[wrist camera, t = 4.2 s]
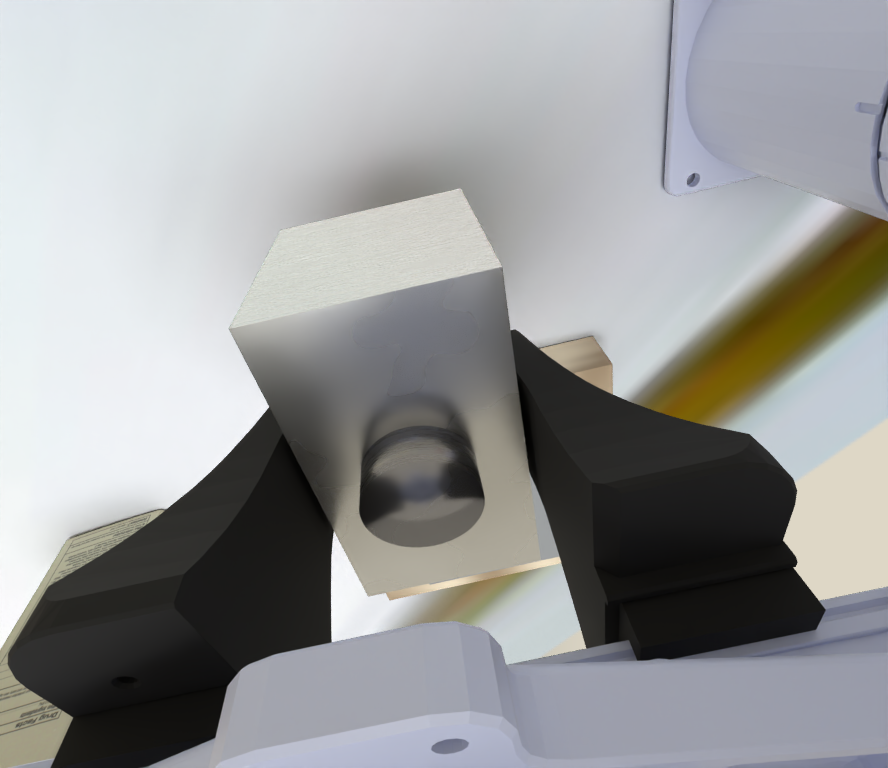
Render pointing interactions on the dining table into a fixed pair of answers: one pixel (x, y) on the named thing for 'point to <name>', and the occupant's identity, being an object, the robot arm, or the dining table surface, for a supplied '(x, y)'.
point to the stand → (591, 367)
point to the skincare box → (3, 697)
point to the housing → (397, 388)
